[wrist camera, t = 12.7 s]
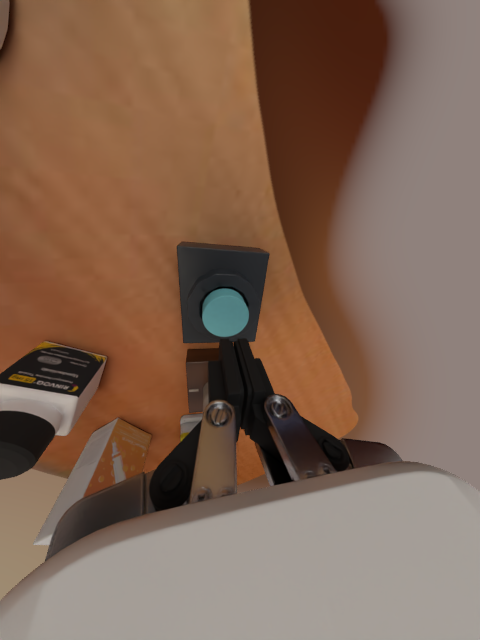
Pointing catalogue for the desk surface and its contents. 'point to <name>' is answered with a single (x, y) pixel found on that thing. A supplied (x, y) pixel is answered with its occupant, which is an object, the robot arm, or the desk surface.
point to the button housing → (219, 284)
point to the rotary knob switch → (198, 375)
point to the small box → (99, 468)
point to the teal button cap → (224, 312)
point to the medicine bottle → (43, 401)
